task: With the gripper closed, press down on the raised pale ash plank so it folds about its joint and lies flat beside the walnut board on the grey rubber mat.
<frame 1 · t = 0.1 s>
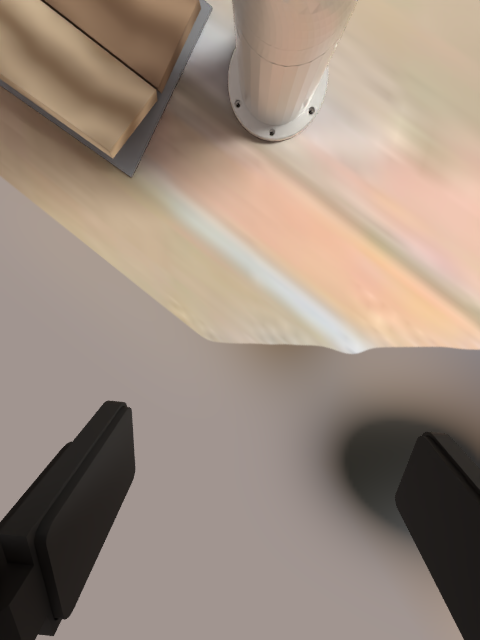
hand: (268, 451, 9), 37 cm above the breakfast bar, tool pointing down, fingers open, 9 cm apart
ash plank: (60, 70, 33), point 3 cm above the breakfast bar, hinge at 25.0°
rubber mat: (93, 43, 35), on the breakfast bar
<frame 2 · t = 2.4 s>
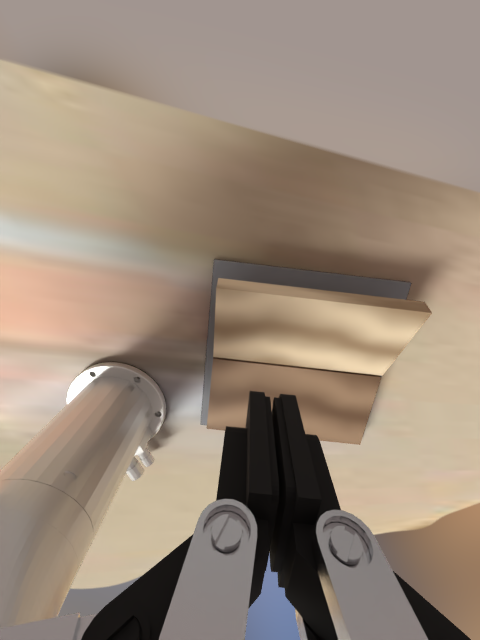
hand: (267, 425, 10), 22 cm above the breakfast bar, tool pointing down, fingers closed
walnut board: (287, 394, 35), resting on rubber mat
ash plank: (309, 331, 29), point 3 cm above the breakfast bar, hinge at 25.0°
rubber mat: (295, 359, 34), on the breakfast bar
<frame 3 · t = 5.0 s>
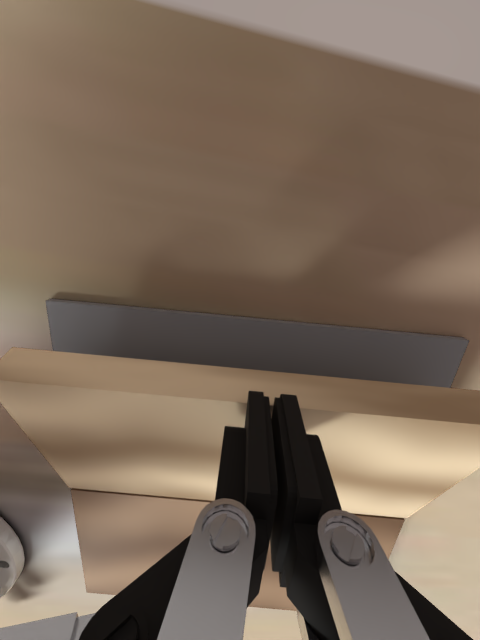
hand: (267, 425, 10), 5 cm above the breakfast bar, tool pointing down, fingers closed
walnut board: (233, 527, 20), resting on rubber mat
ash plank: (247, 448, 14), point 3 cm above the breakfast bar, hinge at 19.4°, touching gripper
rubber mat: (239, 474, 18), on the breakfast bar
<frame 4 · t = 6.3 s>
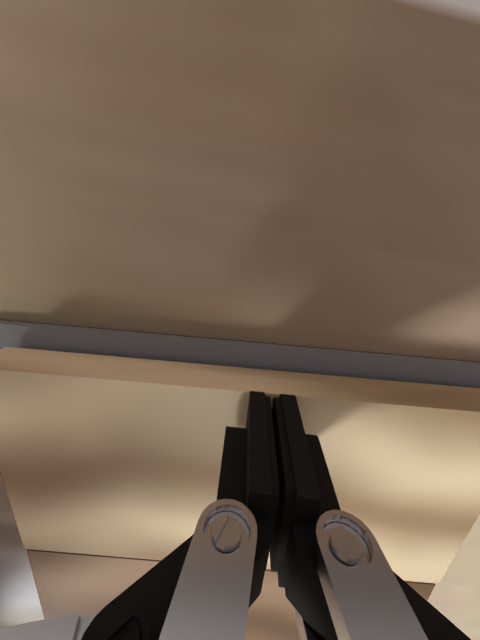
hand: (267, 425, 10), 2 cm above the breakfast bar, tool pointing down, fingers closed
walnut board: (227, 581, 17), resting on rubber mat
ash plank: (241, 475, 12), point 1 cm above the breakfast bar, hinge at 1.5°, touching gripper
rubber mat: (234, 523, 15), on the breakfast bar
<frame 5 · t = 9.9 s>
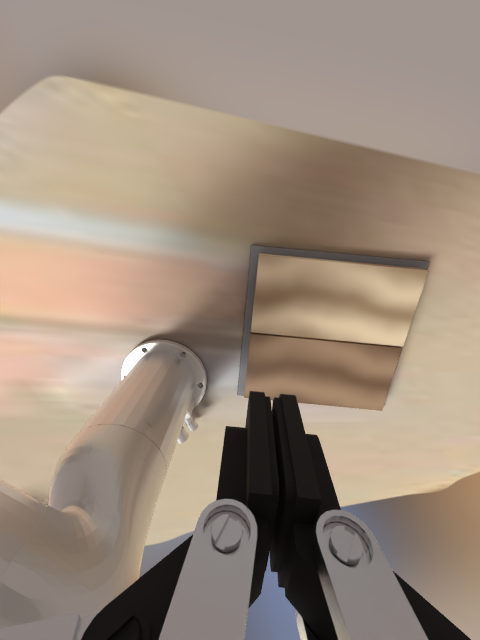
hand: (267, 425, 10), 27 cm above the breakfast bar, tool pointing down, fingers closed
walnut board: (316, 366, 40), resting on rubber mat
ash plank: (333, 301, 35), point 1 cm above the breakfast bar, hinge at 1.4°
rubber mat: (322, 334, 38), on the breakfast bar
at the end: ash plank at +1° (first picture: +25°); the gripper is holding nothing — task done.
